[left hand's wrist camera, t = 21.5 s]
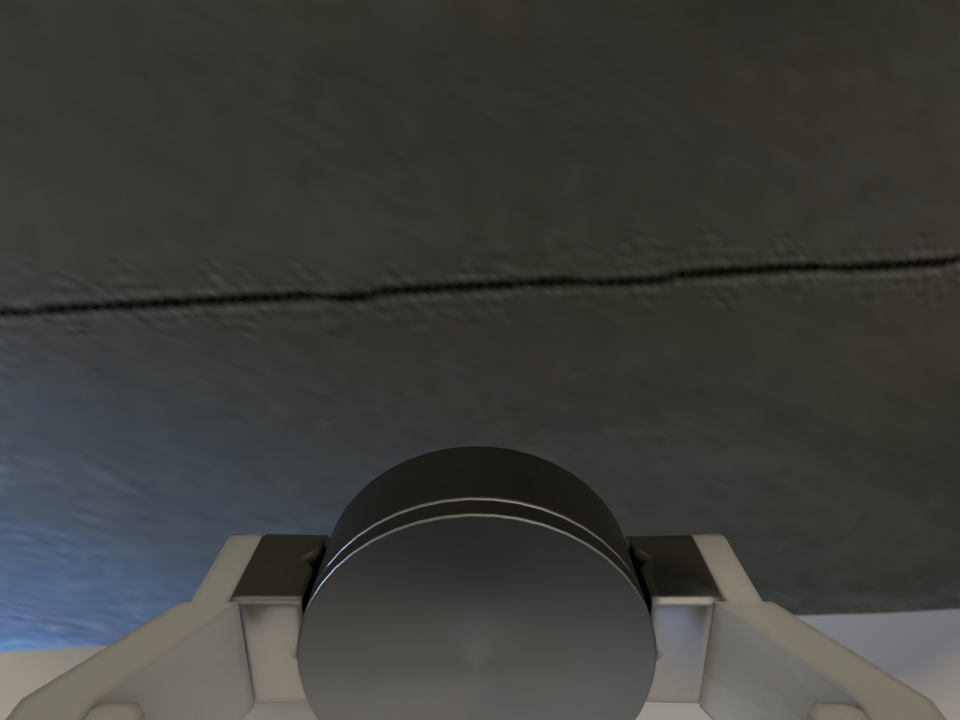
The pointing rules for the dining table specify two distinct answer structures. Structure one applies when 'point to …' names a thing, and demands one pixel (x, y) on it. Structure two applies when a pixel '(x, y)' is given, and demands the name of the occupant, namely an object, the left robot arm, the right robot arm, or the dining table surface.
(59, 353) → the dining table surface
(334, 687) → the lid
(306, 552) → the left robot arm
